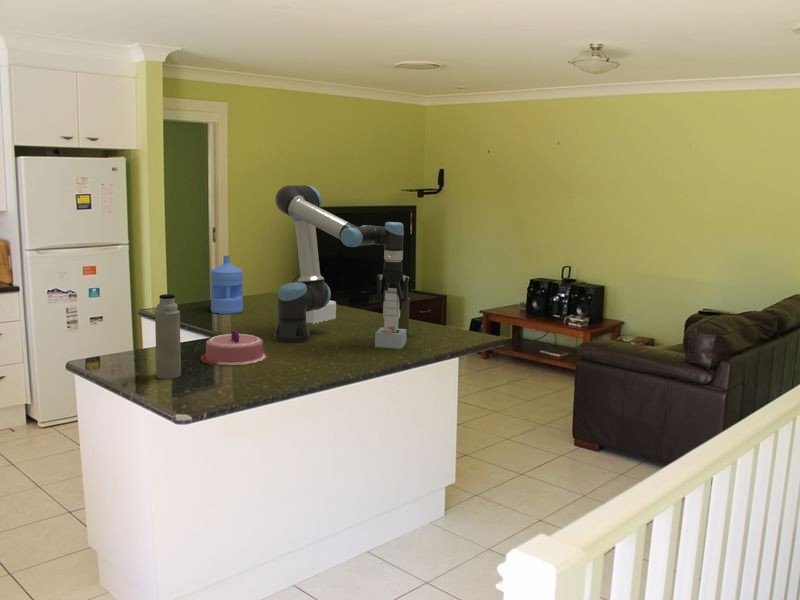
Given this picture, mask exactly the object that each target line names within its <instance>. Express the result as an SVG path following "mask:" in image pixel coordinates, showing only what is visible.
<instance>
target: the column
mask: <svg viewBox="0 0 800 600" xmlns="http://www.w3.org/2000/svg"><path fill="white" fill-rule="evenodd" d="M398 302H399V297H398V290H397V289H396V287H395V288H394V287H388V289H387V290H385V313H384V317H383V319H384V320H383V321H384V322H383V328H384V332H385V330H386V329H392V333H398V321H399V318H397V304H398Z"/></svg>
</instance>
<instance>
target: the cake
mask: <svg viewBox="0 0 800 600" xmlns="http://www.w3.org/2000/svg"><path fill="white" fill-rule="evenodd" d="M230 332H231V333H227V334H220V335H215V336H213V337H211V338H209V339H207V340H206V342H205V353H204V354H202V355H201V356H200V361H202V362H203V363H205V364H206V365H207V364H208V365H211V366H212V365H213V366H219V367H244V366H245V365H246V364H247V365H246V366H253V365H256V364H261V363H263V361H264V362H266V361H267V360H269V355H268V354H267V353H265V352H264V341H263V339H262V338H260V337H258V336H256V335H253V334H249V333H248V334H246V333H239V331H237V330H236V329H231V331H230ZM263 359H264V360H263ZM262 360H263V361H262ZM265 360H266V361H265ZM258 361H261V362H258ZM256 362H258V363H256ZM251 363H252V364H251Z"/></svg>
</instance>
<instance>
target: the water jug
mask: <svg viewBox="0 0 800 600" xmlns="http://www.w3.org/2000/svg"><path fill="white" fill-rule="evenodd" d="M222 262H223V264H220V265H218V266H217V267H214V268H212V269H211V270H210V296H211V298H210V299H211V301H210V302H211V303H210V304H211V305H210V311H211V313H214V314H216V313H218V315H235V314H234V313H236V314H240V313H242V312H243V311H244V305H243V304H244V302H243V300H244V289H243V288H244V287H243V285H244V284H243V281H244V280H243V279H244V276H243V275H244V273H243V272H244V271H243V270H242V269H241V268H238V266H237V267H236V266H235V265H233V264H232V263H231V259H230V255H223V261H222Z"/></svg>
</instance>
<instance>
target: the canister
mask: <svg viewBox="0 0 800 600" xmlns="http://www.w3.org/2000/svg"><path fill="white" fill-rule="evenodd" d="M402 296H403V298H404V293H402ZM410 300H411V297H409V296H408V300H407V301H404V302H403V309H402V310H400V318H399V321H398V329H407V332H406V338H407V337H408V336H409V332H410V331H409V329H410V328H409V327H410Z"/></svg>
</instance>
